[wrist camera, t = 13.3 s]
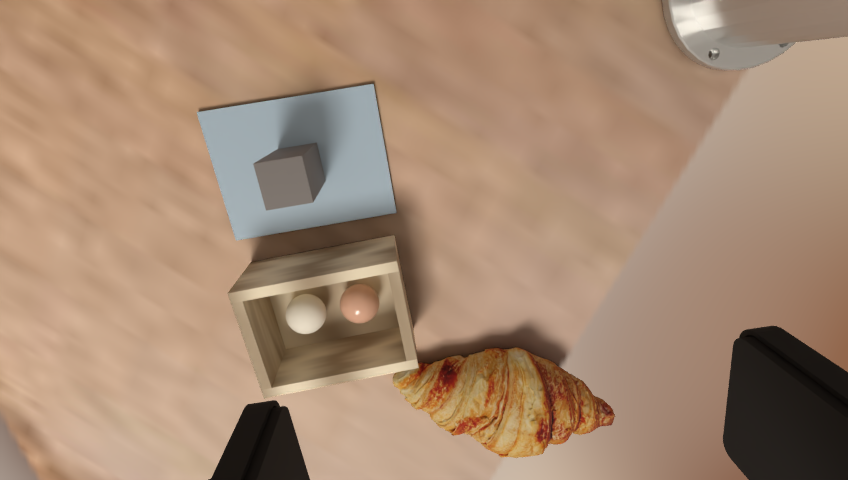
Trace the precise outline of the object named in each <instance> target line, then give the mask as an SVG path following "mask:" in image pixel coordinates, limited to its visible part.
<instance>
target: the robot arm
mask: <svg viewBox="0 0 848 480" xmlns="http://www.w3.org/2000/svg"><path fill="white" fill-rule="evenodd" d="M662 4H663V12H664V18H665V21H666V24H667V27H668V30H669V33H670V34H671V36H672V38H673V40H674V41H675V43H676V45H677V46H678V47H679V48H680V49H681V51H682V52H683V53H684V54H685V55H686V56H687V57H689V58H690V59H692V60H693V61H694V62H696V63H697V64H700V65H702V66H705V67H707V68H710V69H716V70H724V71H727V70H742V69H748V68H753V67H756V66H759V65H761V64H764V63H767V62H769V61H771V60H773V59H774V58H776V57H777V56H779V55H781V54H782V53H784V52H785V51H786V50H788V49H789V48H790V47H791V46H792V45H794V44H795V43H796V42H802V41H811V40H819V39H829V38H839V37H848V0H662ZM723 443H724V447H725V450H726V452H727V454H728V455H729V457H730V458H731V460H732V461H733V462H734V463H735V464H736V465H737V467H738V468H739V469H740V470H741V471H742V472H743V473H744V475H745V476H746V477H747V478H748V479H749V480H848V372H847V371H845V370H844V369H842V368H840V367H839V366H837V365H836V364H834V363H833V362H831V361H830V360H828V359H827V358H825V357H824V356H822V355H821V354H819V353H818V352H816V351H815V350H813V349H812V348H810V347H809V346H807V345H806V344H804V343H803V342H801V341H800V340H798V339H797V338H795V337H794V336H792V335H791V334H789V333H788V332H786V331H785V330H783V329H782V328H779V327H777V326H768V327H761V328H754V329H748V330H744V331H743V332H742V333H741V334H740V337H739V338H738V339H736V340H735V341H734V345H733V352H732V361H731V370H730V379H729V388H728V397H727V406H726V416H725V426H724V434H723ZM208 480H310V479H309V475H308V472H307V469H306V465H305V462H304V459H303V456H302V452H301V449H300V446H299V443H298V439H297V436H296V433H295V429H294V426H293V423H292V420H291V416H290V413H289V410H288V408H287V407H286V406H282V407H280V406H279V403H278V402H277V401H275V400H273V401H267V402H260V403H253V404H248V405H247V406H246V407H245V408H244V410H243V412H242V414H241V416H240V419H239V421H238V423H237V425H236V427H235V429H234V431H233V433H232V436H231V438H230V440H229V442H228V444H227V446H226V448H225V450H224V453H223V455H222V457H221V459H220V461H219V463H218V465H217V467H216V469H215V472H214V474H213V476H212V478H211V479H208Z"/></svg>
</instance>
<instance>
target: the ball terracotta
mask: <svg viewBox="0 0 848 480" xmlns="http://www.w3.org/2000/svg"><path fill="white" fill-rule="evenodd" d="M340 309H341V312H342V314H343V315H344V317H345V318H346V319H347V320H349V321H351V322H353V323H358V324H359V323H365V322H368V321H370V320H371V319H372V318H374V316H375V315H376V314H377V312H378V309H379V297H378V295H377V293H376V291H375V290H374V289H373V288H371V287H370V286H368V285H365V284H355V285H352V286H350V287H349V288H347V289H346V290H345V291H344V292H343V294H342V296H341V299H340Z"/></svg>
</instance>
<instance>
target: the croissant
mask: <svg viewBox="0 0 848 480" xmlns="http://www.w3.org/2000/svg"><path fill="white" fill-rule="evenodd" d="M418 367H419V368H416V369H411V370H406V371H401V372H396V373H395V374H394V376H393V384H394V386H395V387H397V388H398V389H399V390H400V393H401V394H403V395H404V396H405V397H406V398H405V400H406V401H408V402H409V403H411V405H412V406H413V407H414V408H415V409H422V410H423V411H425V412H427V413H428V414H430V417H431V419H432V420H434V422H436V424H437V425H438V426H439V427H440V428H444V429H445V430H446V431H449V432H450V433H452V435H459V434H462V433H464V434H469V435H471V436H472V437H473V438H474V439H475V440H477V441H478V442H480V443H481V444H482V445H483V446H484V447H485V448H486V449H488V450H490V451H492V452H495V453H497V454H499V456H500V457H514V458H518V457H528V456H535V455H539V454H543V452H544V449H545V448H546V447H547V446H548V444H550V443H551V444H562V443H564V442H566V441H567V440H568V438H569V436H570V435H571V434H572V432H573V433H574V434H579V435H582V434H586V433H590V432H591V431H593V430H595V429H596V428H598V427H600V426H608V425H612V423H613V420H614V417H615V414H614V413H613V410H612V408H611V407H610V406H609V405H608V404H607V403H606V402H605V401H604V400H602V399H600V398H598V397H595V396H594V395H593V394H592V393H591V391H590V390H589V388H588V387H587V386H586V384H585V383H584V382H583V381H582V380H580V379H578V378H576V377H575V376H573V375H571V374H569V373H568V372H566V371H565V370H563V369H562V368H560V367H558V366H557V365H556V364H555V363H553V362H552V361H550V360H547V359H543V358H541V357H538V356H535V355H533V354H531V353H530V352H528V351H526V350H523V349H520V348H517V347H516V348H513V349H501V348H491V349H485V351H483V352H479V353H474V354H473V355H471V354H469V356H468V357H462V356H461V355H457V356H453V357H447V358H446V359H443V360H441V361H436V362H434V363H433V364H428V363H422V362H421V363H418Z"/></svg>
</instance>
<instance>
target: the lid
mask: <svg viewBox="0 0 848 480" xmlns="http://www.w3.org/2000/svg"><path fill="white" fill-rule="evenodd" d="M197 115H198V118H199V122H200V125H201V128H202V131H203V135H204V138H205V141H206V144H207V148H208V151H209V154H210V157H211V161H212V164H213V167H214V170H215V174H216V177H217V180H218V183H219V187H220V190H221V193H222V196H223V200H224V203H225V206H226V209H227V213H228V216H229V219H230V222H231V226H232V229H233V232H234V235H235V239H236V240H242V239H248V238H254V237H259V236H265V235H271V234H277V233H283V232H288V231H294V230H300V229H306V228H312V227H318V226H323V225H329V224H335V223H341V222H347V221H352V220H358V219H364V218H370V217H376V216H381V215H387V214H393V213H397V212H396V207H395V201H394V195H393V190H392V184H391V179H390V173H389V168H388V162H387V156H386V151H385V145H384V140H383V134H382V128H381V123H380V117H379V112H378V106H377V100H376V95H375V89H374V84H369V85H363V86H357V87H350V88H344V89H338V90H332V91H326V92H319V93H313V94H307V95H301V96H294V97H288V98H282V99H276V100H270V101H263V102H257V103H251V104H245V105H239V106H232V107H226V108H220V109H214V110H208V111H201V112H197Z"/></svg>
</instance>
